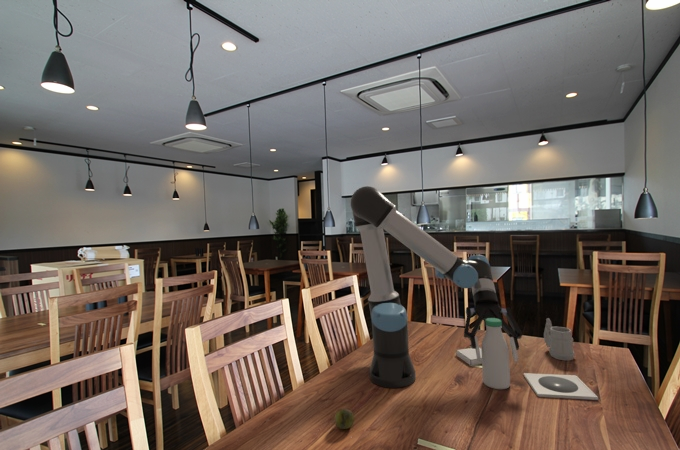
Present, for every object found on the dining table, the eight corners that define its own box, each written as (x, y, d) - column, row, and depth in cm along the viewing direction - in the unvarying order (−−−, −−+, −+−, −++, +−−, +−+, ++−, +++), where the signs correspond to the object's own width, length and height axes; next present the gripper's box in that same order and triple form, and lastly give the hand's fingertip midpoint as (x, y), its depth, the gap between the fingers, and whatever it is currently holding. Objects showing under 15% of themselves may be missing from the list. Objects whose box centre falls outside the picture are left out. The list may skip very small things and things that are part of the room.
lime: (332, 427, 87) (331, 408, 87) (347, 420, 90) (346, 402, 90) (342, 436, 83) (341, 416, 83) (358, 428, 86) (357, 409, 86)
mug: (560, 362, 117) (559, 327, 117) (536, 349, 128) (534, 318, 128) (580, 359, 118) (578, 325, 118) (554, 347, 129) (553, 316, 129)
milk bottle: (515, 389, 101) (512, 322, 100) (489, 390, 101) (485, 324, 100) (503, 377, 108) (500, 315, 108) (479, 378, 108) (475, 316, 108)
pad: (537, 396, 96) (537, 393, 96) (523, 375, 109) (523, 372, 109) (598, 400, 93) (597, 396, 93) (576, 377, 105) (576, 375, 105)
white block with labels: (449, 350, 133) (448, 344, 133) (475, 347, 135) (474, 340, 135) (480, 373, 113) (479, 365, 113) (510, 368, 115) (509, 360, 115)
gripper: (517, 300, 117) (535, 365, 101) (450, 300, 122) (457, 362, 106) (521, 288, 111) (541, 355, 96) (450, 289, 116) (458, 352, 101)
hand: (497, 359), depth 101 cm, fingers open, 10 cm apart
